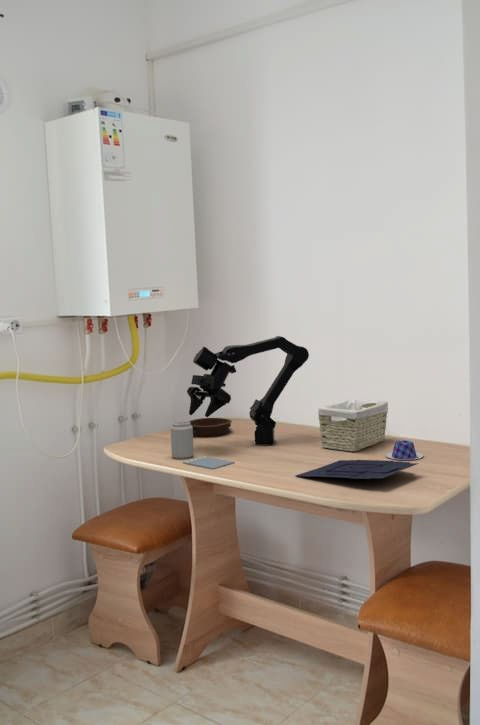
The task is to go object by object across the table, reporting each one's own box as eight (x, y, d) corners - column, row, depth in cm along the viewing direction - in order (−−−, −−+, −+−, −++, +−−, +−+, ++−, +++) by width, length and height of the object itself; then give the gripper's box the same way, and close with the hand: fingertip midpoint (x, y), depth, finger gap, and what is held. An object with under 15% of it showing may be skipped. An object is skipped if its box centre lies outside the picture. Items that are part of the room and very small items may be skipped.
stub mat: (234, 463, 250) (234, 461, 250) (213, 469, 242) (213, 467, 242) (204, 457, 259) (204, 455, 259) (182, 463, 252) (182, 461, 252)
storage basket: (351, 436, 285) (350, 397, 284) (390, 441, 275) (390, 400, 274) (316, 448, 267) (315, 407, 265) (357, 454, 257) (356, 411, 255)
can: (190, 459, 256) (189, 424, 255) (169, 459, 258) (167, 424, 256) (196, 454, 264) (194, 420, 262) (175, 454, 265) (173, 420, 264)
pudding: (427, 461, 245) (427, 445, 245) (391, 462, 245) (391, 446, 244) (416, 452, 257) (416, 437, 257) (381, 454, 257) (381, 439, 256)
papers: (379, 489, 210) (377, 476, 210) (294, 484, 231) (293, 473, 230) (423, 471, 228) (422, 459, 228) (341, 468, 248) (340, 457, 248)
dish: (245, 432, 300) (244, 419, 299) (203, 441, 285) (202, 428, 284) (215, 426, 313) (214, 414, 312) (173, 435, 297) (172, 423, 297)
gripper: (186, 364, 272) (166, 402, 267) (219, 365, 257) (198, 405, 252) (207, 381, 278) (188, 418, 273) (240, 383, 264) (220, 422, 258)
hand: (197, 415), depth 264 cm, fingers open, 9 cm apart
